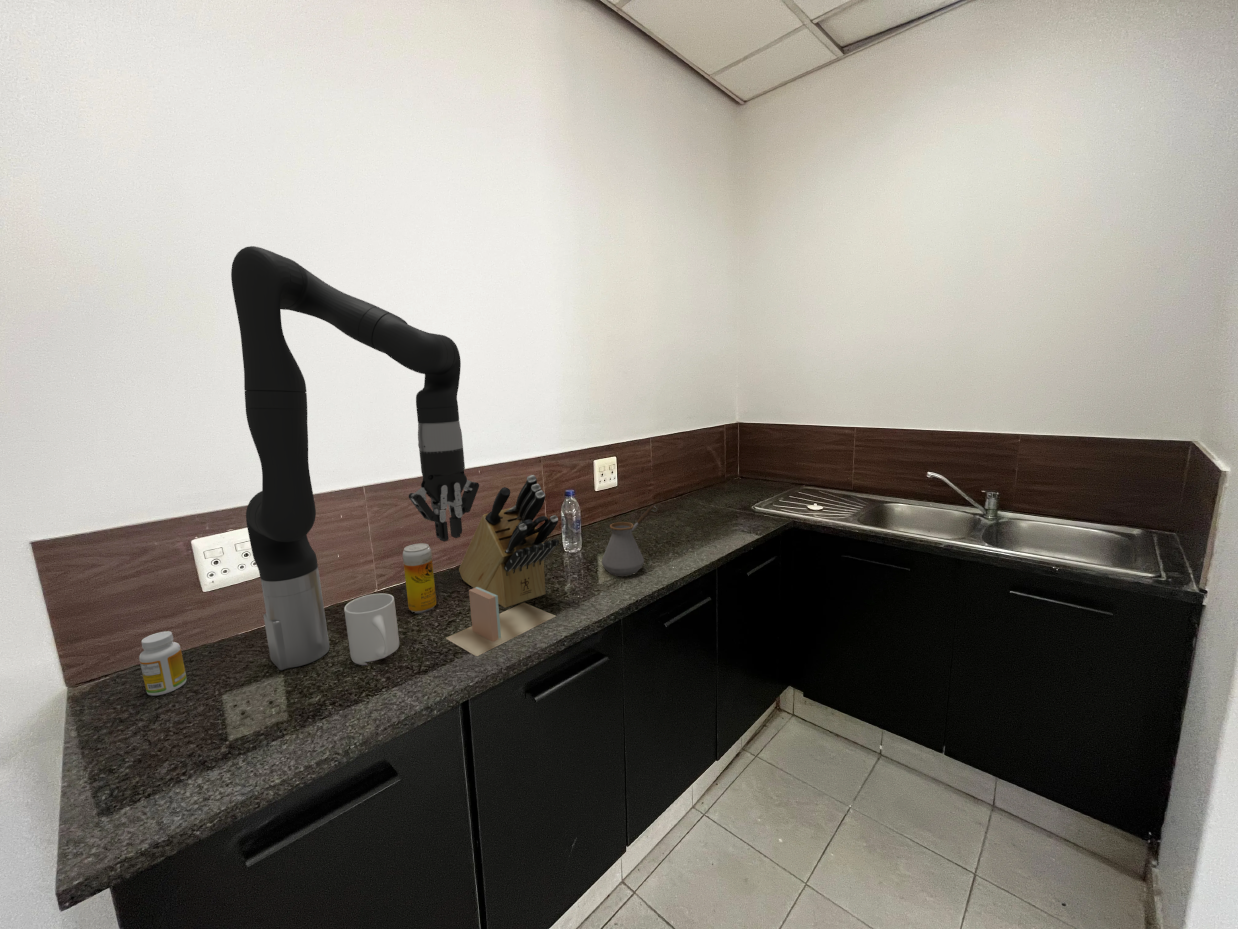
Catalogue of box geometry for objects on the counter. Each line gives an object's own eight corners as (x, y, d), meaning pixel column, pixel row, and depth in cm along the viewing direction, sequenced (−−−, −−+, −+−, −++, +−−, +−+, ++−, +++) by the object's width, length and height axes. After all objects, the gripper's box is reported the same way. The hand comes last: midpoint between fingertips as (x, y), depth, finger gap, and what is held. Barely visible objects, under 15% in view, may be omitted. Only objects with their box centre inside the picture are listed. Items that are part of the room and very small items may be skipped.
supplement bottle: (183, 674, 92) (173, 626, 91) (190, 685, 89) (180, 634, 87) (144, 689, 88) (133, 638, 87) (149, 700, 85) (138, 648, 83)
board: (477, 661, 93) (476, 656, 93) (445, 642, 100) (445, 638, 100) (556, 620, 108) (556, 616, 108) (524, 606, 115) (523, 602, 115)
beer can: (427, 615, 113) (420, 552, 110) (403, 613, 114) (396, 551, 111) (441, 603, 118) (435, 543, 116) (419, 602, 120) (412, 542, 117)
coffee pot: (627, 582, 127) (625, 526, 124) (593, 573, 134) (590, 519, 131) (672, 557, 143) (671, 507, 141) (639, 550, 150) (638, 502, 148)
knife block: (524, 627, 105) (514, 485, 100) (458, 580, 132) (447, 465, 127) (568, 610, 113) (561, 477, 107) (497, 568, 139) (488, 459, 134)
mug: (363, 680, 89) (356, 624, 87) (346, 654, 97) (339, 603, 96) (412, 661, 94) (406, 608, 92) (391, 638, 103) (386, 589, 101)
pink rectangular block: (492, 641, 98) (489, 599, 97) (472, 631, 103) (468, 590, 101) (501, 637, 100) (497, 595, 98) (480, 627, 104) (477, 586, 103)
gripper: (415, 453, 82) (425, 553, 85) (485, 443, 93) (492, 532, 96) (393, 450, 87) (404, 544, 90) (463, 441, 98) (470, 526, 100)
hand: (450, 538), depth 93 cm, fingers closed
